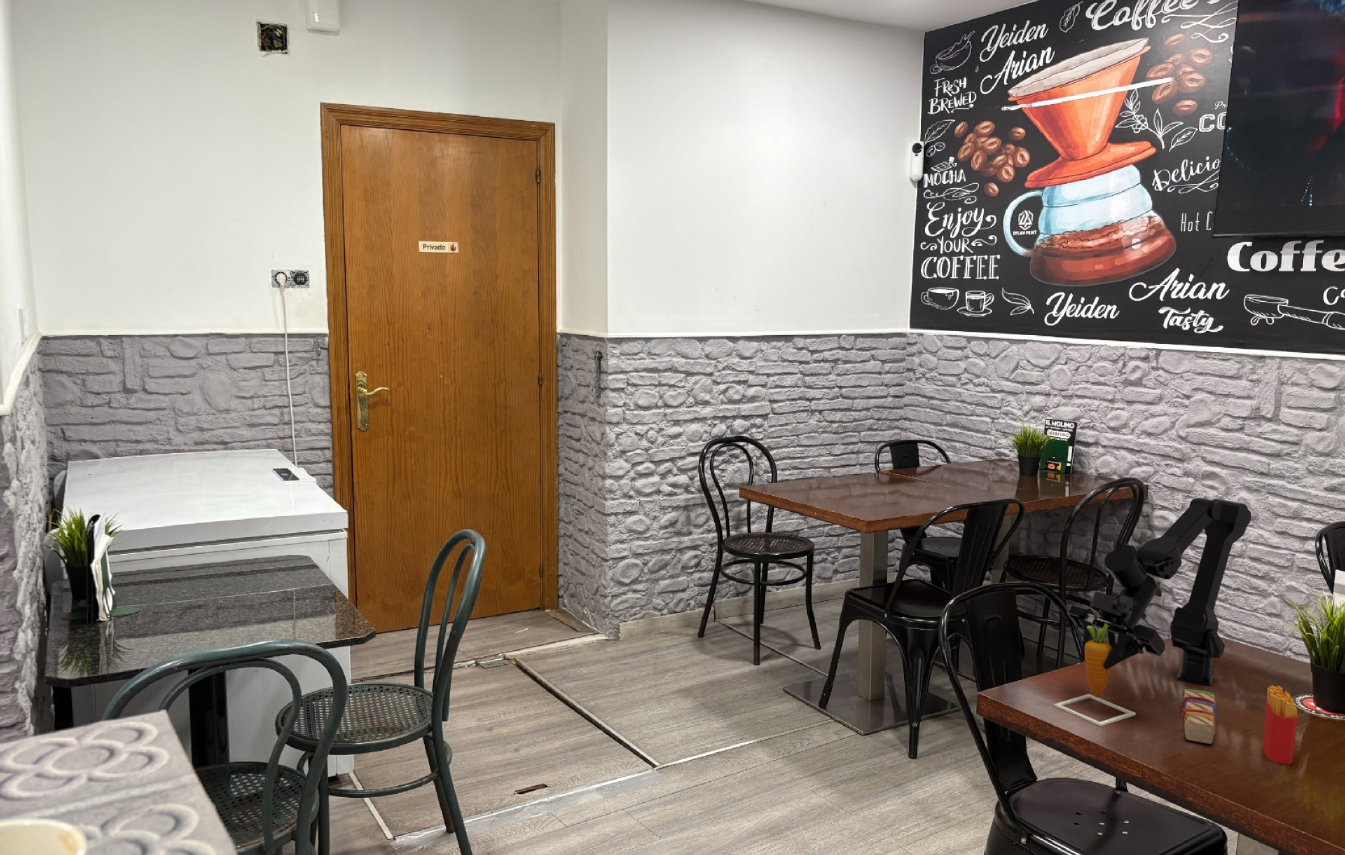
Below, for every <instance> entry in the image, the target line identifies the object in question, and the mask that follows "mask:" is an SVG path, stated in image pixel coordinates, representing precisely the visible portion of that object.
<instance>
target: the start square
mask: <svg viewBox="0 0 1345 855" xmlns="http://www.w3.org/2000/svg"><path fill="white" fill-rule="evenodd" d="M1087 699H1091V700H1094V701H1097V702H1098V703H1100V704H1103V705H1106V706H1108V707H1110V708H1113V709H1115V710H1117V711H1119V712H1120V711H1121V712H1123V713H1124V714H1121V715H1118V716H1114V717H1111V718H1108V719H1106V720H1102V721H1098V720H1096V719H1094V718H1091V717H1089V716H1087V715H1085V714H1082V713H1079V712H1077V711H1075V710H1072V709H1071V708H1068V707H1066V706H1067V705H1070V704H1074V703H1077V702H1080V701H1084V700H1087ZM1053 707H1055V708H1057V709H1060V710H1062V711H1064V712H1067V713H1069V714H1071V715H1073V716H1075V717H1078V718H1080V719H1082V720H1086V721H1087V722H1089V723H1091V724H1093V725H1096V726H1099V727H1104V726H1106V725H1109V724H1112V723H1116V722H1119V721H1121V720H1125V719H1129V718H1130V717H1133V716H1136V714H1137V713H1136V712H1134V711H1132V710H1129V709H1126V708H1125V707H1122V706H1119V705H1117V704H1114V703H1112V702H1110V701H1108V700H1105V699H1103V698H1100V697H1097V698H1096V697H1095V696H1094V695H1093V694H1090V693H1087V694H1084V695H1080V696H1077V697H1073V698H1070V699H1068V700H1067V699H1066V700H1062V701H1060V702H1055V703H1054V704H1053Z"/></svg>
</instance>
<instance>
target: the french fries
mask: <svg viewBox="0 0 1345 855" xmlns="http://www.w3.org/2000/svg"><path fill="white" fill-rule="evenodd" d="M1266 693H1267V701H1265V709H1264V710H1265V711H1264V722H1263V724H1264V725H1263V738H1262V740H1263V741H1262V751H1263V753H1264V755H1265V757H1266V758H1267V759H1268V760H1269V761H1271V762H1273V763H1276V764H1281V765H1290V764H1292V763H1293V760H1294V759H1293V758H1294V752H1295V744H1296V736H1297V734H1296V733H1297V727H1298V720H1299V716H1298V709H1297V707H1296V706H1295V700H1294V699H1293V698H1292V696H1291V693H1289V692H1288V691H1286V690H1284V692H1283V687H1281V686H1280V685H1276V686H1274V685H1272V684H1270V686H1268V687H1267V692H1266Z"/></svg>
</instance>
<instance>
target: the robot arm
mask: <svg viewBox="0 0 1345 855" xmlns="http://www.w3.org/2000/svg"><path fill="white" fill-rule="evenodd" d="M1251 521H1252V511H1251V510H1250V509H1249V507H1248V506H1247V505H1246V504H1245V503H1241V502H1235V501H1230V500H1227V499H1222V498H1221V499H1220V498H1212V499H1209V498H1203V497H1195V498H1193V499H1191V501H1190V503H1189V506H1188V507H1187V509H1186V510H1185V511H1184V512H1183V513H1182V514H1180V516H1179V517H1178V518H1177V519H1176V520H1175V522H1174V523H1172V524H1171V526H1170V527H1169V528H1168V529H1167V530H1166V531H1165V532H1164V533H1163V534H1162V535H1161V536H1159V537H1157V538H1153V539H1150V540H1148V541H1146V542H1145V543H1144V544H1143V545H1141V546H1140V547H1139V548H1138V549H1137V548H1136V547H1135V546H1134V545H1131V544H1128V543H1124V544H1123V546H1122V547H1121V548H1116V549H1113V550H1112V551H1110V552H1109V553H1107V554H1106V556H1105V558H1104V562H1103V563H1104V566H1105V567H1106V569H1107V570H1108V572H1109V573H1110V575H1111V576H1112V578H1113V579H1114V580H1115V582H1116V583H1117V584H1118V585H1119V586H1121V588H1120V589H1119V592H1118V593H1114V592H1113V593H1111V594H1110V595H1109V594H1107V593H1103V592H1099V591H1097V590H1094V593H1093V596H1092V598H1091V601H1090V605H1089V607H1090V608H1089V607H1087V606H1083V605H1081V604H1077V603H1076V604H1075V603H1074V604H1072V605H1071V606H1069V609H1068V610H1067V611H1066V614H1067V616H1068V618H1070V620H1071V621H1072V622H1073V623H1074V625H1075V626H1076V627H1077V628H1078V629H1079V630H1082V631H1083V638H1082V645H1081V651H1080V656H1079V657H1080V660H1081V661H1084V662H1085V644H1086V643H1087V642H1088V641H1091V640H1094V639H1093V637H1092V635H1091V634H1090V632H1089V630H1088V629H1087V626H1092V625H1093V627H1094V628H1095V631H1096V632H1097V631H1098V632H1099V630H1100V629H1101V628H1103V626H1104V624H1105V623H1107V624H1108V629H1107V631H1108V632H1111V633H1113V634H1115V635H1117V638H1116V639H1117V640H1116V643H1115V644H1114V646H1113V647H1112V651H1111V652H1110V654H1109V656H1108V657H1107V659H1106V661H1105V663H1104V665H1103V667H1104V668H1105V669H1109V668H1111V669H1112V667H1114V666H1115V665H1118V664H1119V663H1122V661H1125V660H1127V659H1129V658H1132V657H1133V656H1136V655H1138V654H1140V655H1143V654H1144V651H1143V649H1145V651H1146V653H1147V654H1149V653H1150V654H1151V655H1154V656H1157V657H1161V656H1162V655H1163V653H1164V651H1165V650H1166V644H1165V641H1164V640H1163V638H1162V637H1161V635H1160V634H1159V633H1158V632H1157V629H1154V628H1152V627H1148V626H1145V625H1142V624H1138V623H1139V622H1140V620H1146V618H1147V614H1146V613H1145V612H1146V610H1147V608H1148V606H1149V604H1151V602H1152V600H1153V598H1154V597H1160V598H1161V597H1162V596H1163V595H1162V593H1163V592H1162V589H1161V583H1160V582H1157V581H1156V580H1155V579H1154V578H1153V577H1155V578H1160V579H1162V580H1171V579H1172V578H1173V577H1174V576H1175V575H1176V574H1177V572H1178V570H1179V569H1180V567H1181V566H1182V564H1183V561H1182V555H1183V554H1184V552H1185V551H1186V550H1187V549H1188V548H1189V547H1190V546H1191V544H1192V543H1193V542H1194V541H1195V540H1196V539H1197V538H1198V537H1199V536H1200V535H1201V534H1202V532H1203V531H1204V533H1205V536H1206V539H1205V543H1204V546H1203V550H1202V553H1201V555H1200V556H1201V558H1200V560H1199V563H1198V566H1197V567H1198V568H1197V570H1196V574H1195V578H1194V581H1193V584H1192V589H1191V592H1190V595H1189V599H1188V602H1186V603H1185V604H1184V605H1183V606H1182V607H1180V606H1177V607H1176V608H1175V610H1174V613H1173V618H1172V620H1171V622H1170V626H1169V627H1170V628H1169V632H1170V637H1171V638H1170V640H1171V644H1172V647H1175V648H1177V649H1178V648H1179V649H1181V660H1180V661H1181V662H1180V668H1179V670H1178V672H1177V675H1176V679H1177V680H1178V681H1180V680H1181V681H1185V682H1189V683H1194V684H1201V685H1206V686H1212V684H1213V680H1214V677H1215V676H1214V673H1212V666H1213V665H1212V662H1213V659H1220V658H1221V656H1223V655H1224V651H1225V648H1226V644H1225V643H1224V642H1223V640H1222V639H1221V637H1220V635H1219V634H1218V630H1219V621H1218V619H1217V615H1216V611H1215V606H1216V603H1217V600H1218V596H1219V593H1220V589H1221V585H1222V581H1223V579H1224V575H1225V572H1226V567H1227V564H1228V561H1229V557H1230V553H1231V550H1232V547H1233V545H1234V544H1235V543H1236V542H1237V541H1238V540H1240V539H1241V538H1242V537H1243V536H1245V533H1246V531H1247V528H1248V526H1249V524H1250V523H1251ZM1091 608H1095V609H1098V611H1097V612H1098V614H1099V615H1100V616H1102V618H1101V617H1098V616H1096V614H1095V613H1094V612H1093V610H1092V609H1091ZM1107 631H1106V632H1107ZM1096 636H1097V634H1096Z"/></svg>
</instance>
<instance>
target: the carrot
mask: <svg viewBox="0 0 1345 855" xmlns="http://www.w3.org/2000/svg"><path fill="white" fill-rule="evenodd" d="M1087 629H1088V630H1089V632H1090V634H1091V635H1092V637H1093V639H1094V640H1091V641H1088V642H1087V643H1086V644H1085V661H1084V668H1085V676H1086V680H1087V684H1088V686H1089V689H1090V692H1091V693H1092V695H1093V696H1095V697H1096V698H1097V697H1098V698H1100V696H1101V695H1102V693H1103V692H1104V690H1105V688H1106V687H1107V684H1108V681H1109V677H1110V674H1111V669H1112V667H1111V668H1109V669H1105V668H1104V667H1103V665H1104V663H1105V661H1106V659H1107V657H1108V656H1109V654H1110V652H1111V651H1112V649H1113V647H1112V646H1111V644H1110V643H1108V642H1107V641H1105V640H1104V638H1105V637H1106V636H1107V635H1108V632H1107V629H1108V624H1107V623H1105V624H1104V626H1103V628H1101V629H1100V630H1099V632H1098V631H1097V632H1096V631H1095V628H1094V627H1093V625H1092V626H1087ZM1096 634H1097V636H1096Z"/></svg>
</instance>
